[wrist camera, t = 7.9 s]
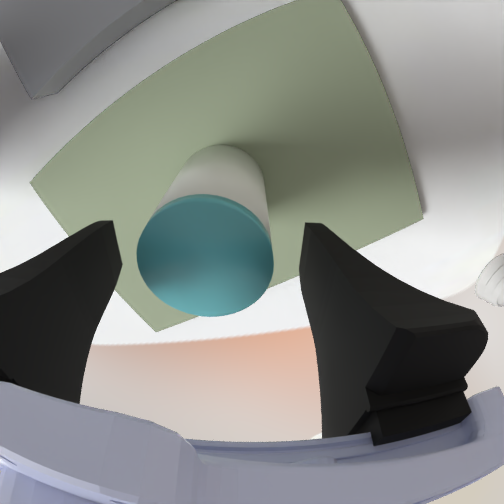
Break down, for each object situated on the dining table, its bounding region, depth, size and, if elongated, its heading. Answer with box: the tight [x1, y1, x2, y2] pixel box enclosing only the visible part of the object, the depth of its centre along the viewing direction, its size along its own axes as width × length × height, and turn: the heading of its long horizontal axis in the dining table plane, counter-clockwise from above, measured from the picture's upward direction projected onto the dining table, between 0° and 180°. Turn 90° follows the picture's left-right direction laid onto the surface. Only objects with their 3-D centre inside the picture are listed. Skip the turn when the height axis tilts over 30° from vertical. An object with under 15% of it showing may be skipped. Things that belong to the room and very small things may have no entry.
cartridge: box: [136, 145, 274, 317], centre depth 12 cm, size 4×4×7 cm
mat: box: [30, 0, 423, 332], centre depth 16 cm, size 20×14×1 cm
